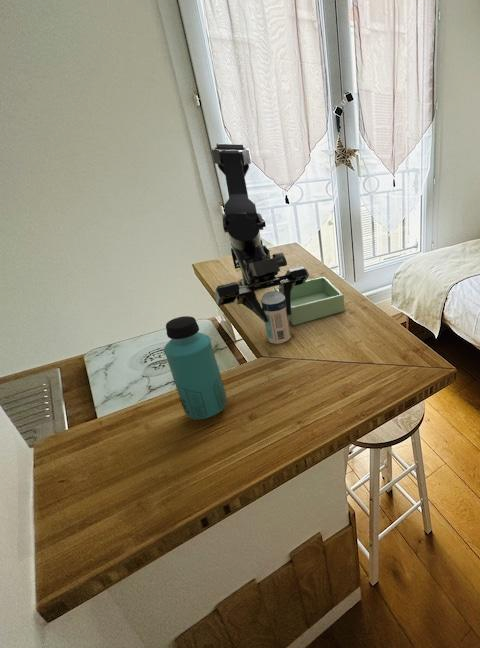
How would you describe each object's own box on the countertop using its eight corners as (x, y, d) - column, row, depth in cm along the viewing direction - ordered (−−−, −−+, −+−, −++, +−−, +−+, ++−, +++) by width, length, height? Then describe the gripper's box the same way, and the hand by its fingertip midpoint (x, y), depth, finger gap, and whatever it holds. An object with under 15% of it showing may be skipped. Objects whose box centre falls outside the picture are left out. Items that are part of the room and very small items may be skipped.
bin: (276, 303, 108) (274, 287, 106) (325, 291, 116) (324, 276, 114) (293, 325, 99) (290, 308, 97) (344, 310, 108) (343, 294, 106)
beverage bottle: (238, 407, 74) (216, 316, 65) (203, 432, 68) (174, 336, 60) (212, 396, 76) (187, 306, 67) (176, 420, 70) (143, 325, 61)
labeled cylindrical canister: (295, 335, 96) (289, 291, 91) (283, 346, 91) (276, 301, 86) (276, 332, 96) (268, 288, 91) (263, 343, 92) (255, 298, 87)
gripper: (206, 251, 79) (236, 321, 78) (301, 235, 92) (327, 294, 91) (203, 273, 87) (230, 336, 86) (291, 255, 100) (315, 309, 99)
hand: (278, 318), depth 90 cm, fingers closed on labeled cylindrical canister, 5 cm apart
